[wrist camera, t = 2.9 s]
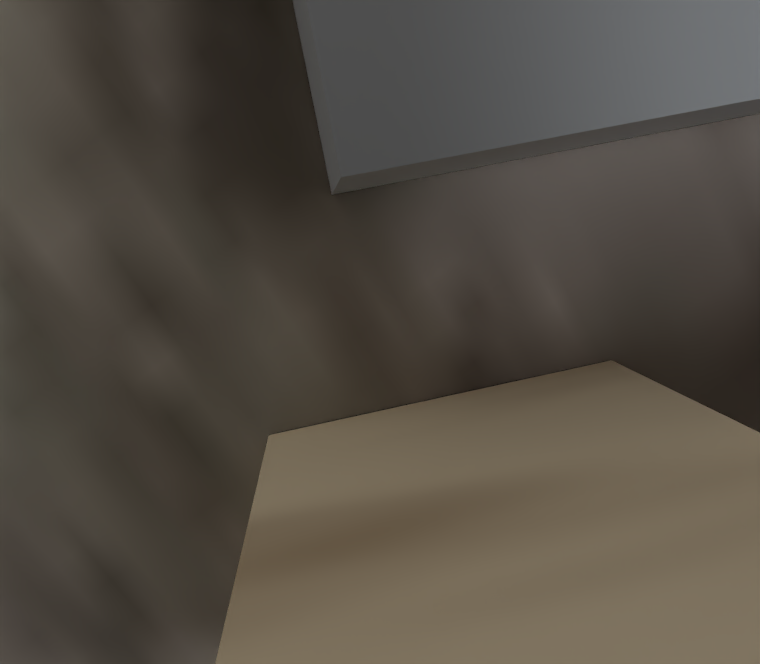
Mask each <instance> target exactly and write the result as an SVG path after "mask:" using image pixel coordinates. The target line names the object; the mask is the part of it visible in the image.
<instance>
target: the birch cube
mask: <svg viewBox="0 0 760 664" xmlns="http://www.w3.org/2000/svg"><path fill="white" fill-rule="evenodd" d="M215 664H760V433H759V432H757V431H755V430H753V429H751V428H749V427H747V426H745V425H743V424H741V423H739V422H737V421H735V420H733V419H731V418H729V417H727V416H725V415H723V414H721V413H718V412H716V411H714V410H712V409H710V408H708V407H706V406H704V405H702V404H700V403H698V402H696V401H694V400H692V399H690V398H688V397H686V396H684V395H682V394H680V393H678V392H675V391H673V390H671V389H669V388H667V387H665V386H663V385H661V384H659V383H657V382H655V381H653V380H651V379H649V378H647V377H645V376H643V375H641V374H639V373H637V372H634V371H632V370H630V369H628V368H626V367H624V366H622V365H620V364H618V363H616V362H614V361H612V360H611V361H606V362H601V363H597V364H592V365H588V366H583V367H579V368H574V369H569V370H565V371H560V372H556V373H551V374H547V375H542V376H537V377H533V378H528V379H524V380H519V381H514V382H510V383H505V384H501V385H496V386H492V387H487V388H482V389H478V390H473V391H469V392H464V393H460V394H455V395H450V396H446V397H441V398H437V399H432V400H427V401H423V402H418V403H414V404H409V405H405V406H400V407H395V408H391V409H386V410H382V411H377V412H373V413H368V414H363V415H359V416H354V417H350V418H345V419H340V420H336V421H331V422H327V423H322V424H318V425H313V426H308V427H304V428H299V429H295V430H290V431H286V432H281V433H276V434H272V435H269V436H268V440H267V445H266V449H265V453H264V457H263V462H262V466H261V470H260V474H259V479H258V483H257V487H256V491H255V496H254V500H253V504H252V509H251V513H250V517H249V521H248V526H247V530H246V534H245V538H244V543H243V547H242V551H241V556H240V560H239V564H238V568H237V573H236V577H235V581H234V585H233V590H232V594H231V598H230V603H229V607H228V611H227V615H226V620H225V624H224V628H223V632H222V637H221V641H220V645H219V649H218V654H217V658H216V662H215Z"/></svg>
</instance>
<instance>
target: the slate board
mask: <svg viewBox="0 0 760 664" xmlns="http://www.w3.org/2000/svg"><path fill="white" fill-rule="evenodd" d="M293 5H294V10H295V15H296V20H297V25H298V30H299V35H300V40H301V45H302V50H303V55H304V60H305V65H306V70H307V74H308V79H309V84H310V89H311V94H312V99H313V104H314V109H315V114H316V119H317V124H318V129H319V134H320V139H321V144H322V149H323V154H324V159H325V164H326V169H327V174H328V178H329V183H330V188H331V193H332V195H333V194H339V193H344V192H349V191H354V190H360V189H365V188H370V187H375V186H381V185H386V184H391V183H396V182H402V181H407V180H412V179H417V178H423V177H428V176H433V175H439V174H444V173H449V172H454V171H460V170H465V169H470V168H475V167H481V166H486V165H491V164H496V163H502V162H507V161H512V160H517V159H523V158H528V157H533V156H538V155H544V154H549V153H554V152H559V151H565V150H570V149H575V148H580V147H586V146H591V145H596V144H602V143H607V142H612V141H617V140H623V139H628V138H633V137H638V136H644V135H649V134H654V133H659V132H665V131H670V130H675V129H680V128H686V127H691V126H696V125H701V124H707V123H712V122H717V121H722V120H728V119H733V118H738V117H744V116H749V115H754V114H759V113H760V0H293Z"/></svg>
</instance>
